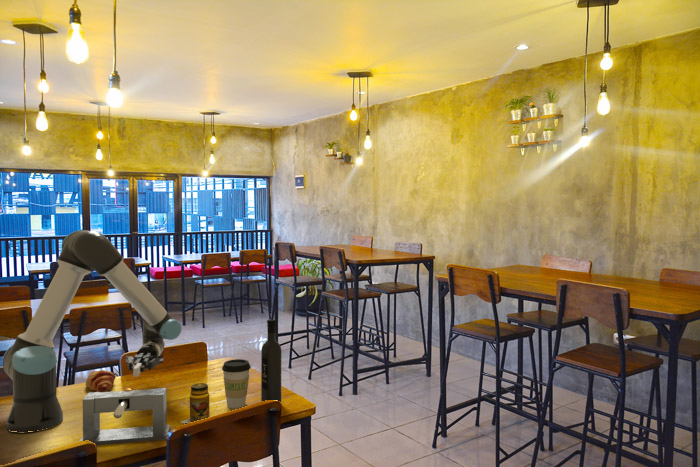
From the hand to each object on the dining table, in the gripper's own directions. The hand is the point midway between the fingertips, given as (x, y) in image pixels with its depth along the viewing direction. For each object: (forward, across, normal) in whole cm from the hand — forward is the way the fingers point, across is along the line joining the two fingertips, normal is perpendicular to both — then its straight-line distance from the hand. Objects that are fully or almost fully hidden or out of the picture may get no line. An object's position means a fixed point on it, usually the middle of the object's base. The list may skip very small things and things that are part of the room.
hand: (135, 372), depth 166 cm
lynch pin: (+19, 0, +7) cm, 20 cm away
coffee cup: (-4, +32, +14) cm, 36 cm away
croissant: (-34, -19, +15) cm, 42 cm away
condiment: (+8, +21, +15) cm, 26 cm away
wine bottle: (-2, +44, +14) cm, 47 cm away
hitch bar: (+16, +1, +15) cm, 22 cm away
